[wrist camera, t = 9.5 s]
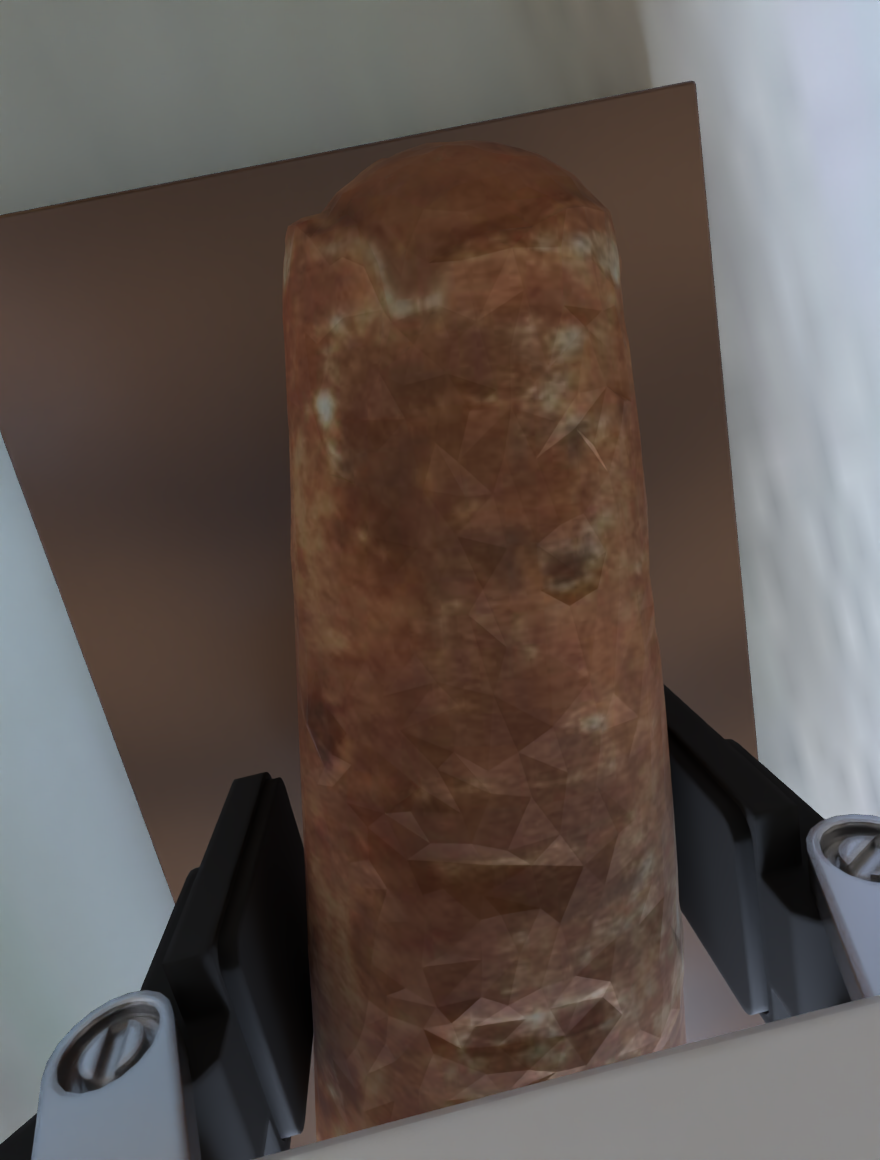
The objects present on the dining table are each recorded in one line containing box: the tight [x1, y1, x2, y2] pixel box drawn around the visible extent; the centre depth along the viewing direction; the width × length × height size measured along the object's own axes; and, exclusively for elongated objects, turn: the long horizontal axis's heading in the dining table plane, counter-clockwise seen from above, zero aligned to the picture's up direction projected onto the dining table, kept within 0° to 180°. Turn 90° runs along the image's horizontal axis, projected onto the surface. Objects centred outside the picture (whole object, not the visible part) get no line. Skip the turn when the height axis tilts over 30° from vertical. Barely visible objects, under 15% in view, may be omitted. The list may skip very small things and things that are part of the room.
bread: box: [283, 140, 687, 1142], centre depth 9 cm, size 6×19×6 cm, turn 2°
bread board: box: [0, 81, 766, 1149], centre depth 14 cm, size 22×13×2 cm, turn 12°
